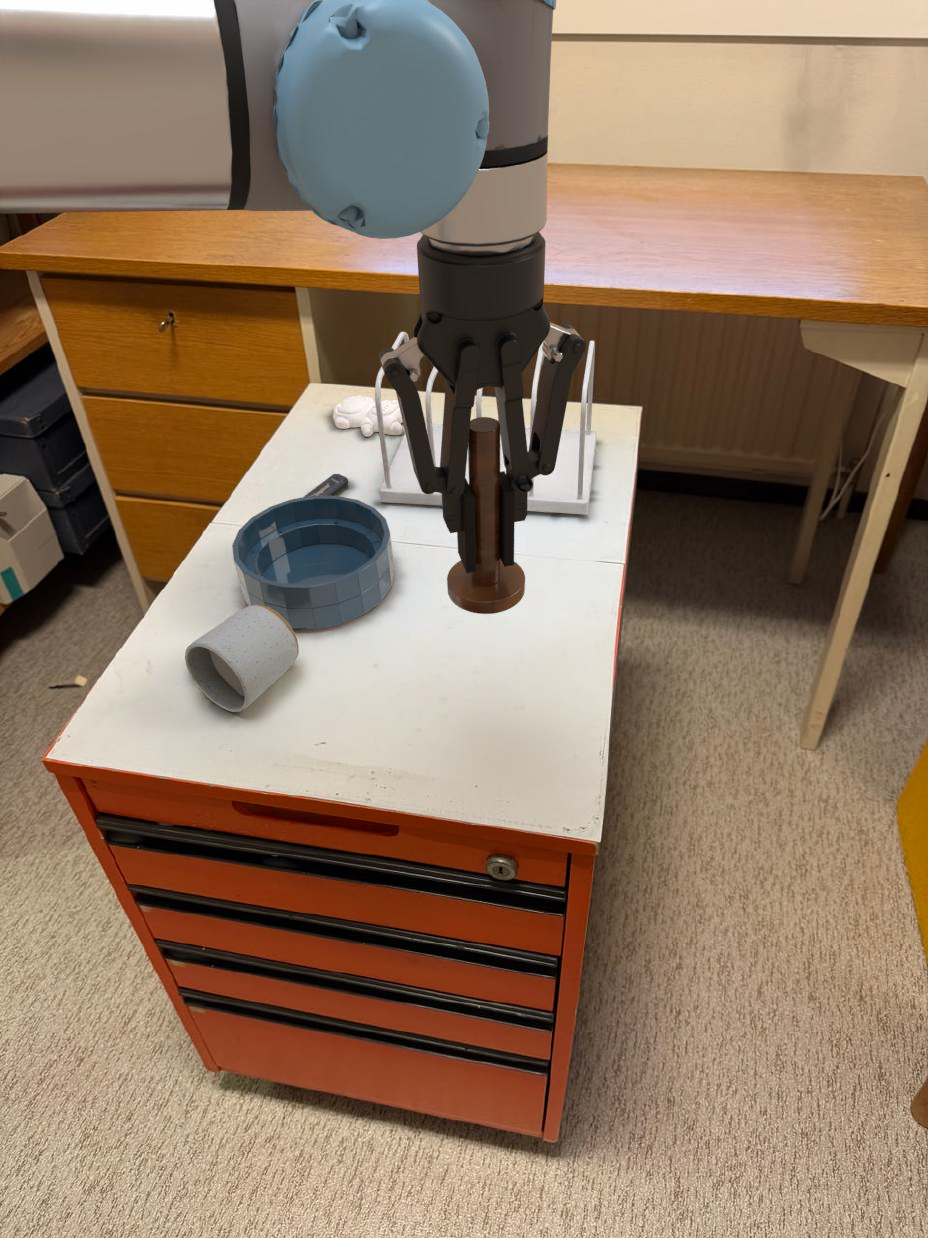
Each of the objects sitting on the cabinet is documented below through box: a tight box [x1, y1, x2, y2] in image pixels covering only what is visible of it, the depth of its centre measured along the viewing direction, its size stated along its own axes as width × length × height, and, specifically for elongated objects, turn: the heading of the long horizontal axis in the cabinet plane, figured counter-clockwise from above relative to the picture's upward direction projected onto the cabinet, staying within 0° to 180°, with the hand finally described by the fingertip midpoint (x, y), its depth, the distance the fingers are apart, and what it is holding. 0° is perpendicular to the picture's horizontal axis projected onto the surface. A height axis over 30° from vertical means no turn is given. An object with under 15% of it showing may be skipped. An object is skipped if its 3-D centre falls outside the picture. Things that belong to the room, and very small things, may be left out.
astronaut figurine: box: [332, 394, 404, 438], centre depth 122 cm, size 9×12×3 cm
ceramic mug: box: [184, 604, 300, 713], centre depth 82 cm, size 11×8×8 cm
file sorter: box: [374, 331, 597, 515], centre depth 106 cm, size 25×17×16 cm
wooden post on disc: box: [446, 416, 526, 615], centre depth 64 cm, size 6×6×14 cm
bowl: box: [231, 495, 395, 630], centre depth 94 cm, size 16×16×6 cm
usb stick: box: [303, 473, 349, 497], centre depth 107 cm, size 10×3×2 cm, turn 148°
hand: (485, 558), depth 66 cm, fingers closed on wooden post on disc, 2 cm apart
